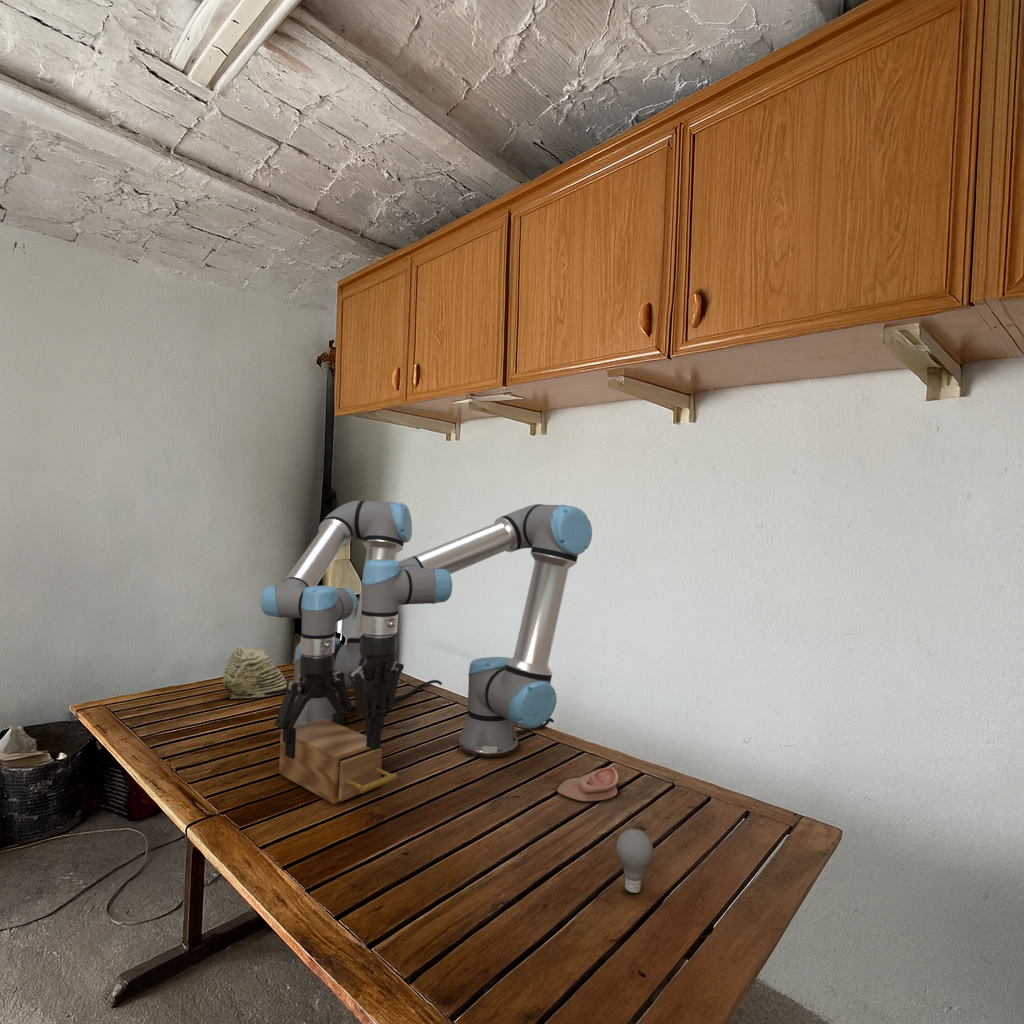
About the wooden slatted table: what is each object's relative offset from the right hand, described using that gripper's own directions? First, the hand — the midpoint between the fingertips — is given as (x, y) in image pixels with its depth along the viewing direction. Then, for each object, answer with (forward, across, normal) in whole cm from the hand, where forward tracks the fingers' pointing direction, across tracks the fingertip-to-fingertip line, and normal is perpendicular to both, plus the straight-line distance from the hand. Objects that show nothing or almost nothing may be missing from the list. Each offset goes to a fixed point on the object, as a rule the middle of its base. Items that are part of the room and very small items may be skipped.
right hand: (373, 747), depth 132 cm
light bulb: (+12, +11, -55) cm, 57 cm away
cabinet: (+12, 0, +16) cm, 19 cm away
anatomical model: (+11, +37, -30) cm, 49 cm away
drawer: (+11, 0, +10) cm, 15 cm away
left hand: (+6, 0, +21) cm, 22 cm away
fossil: (+12, +20, +81) cm, 84 cm away
